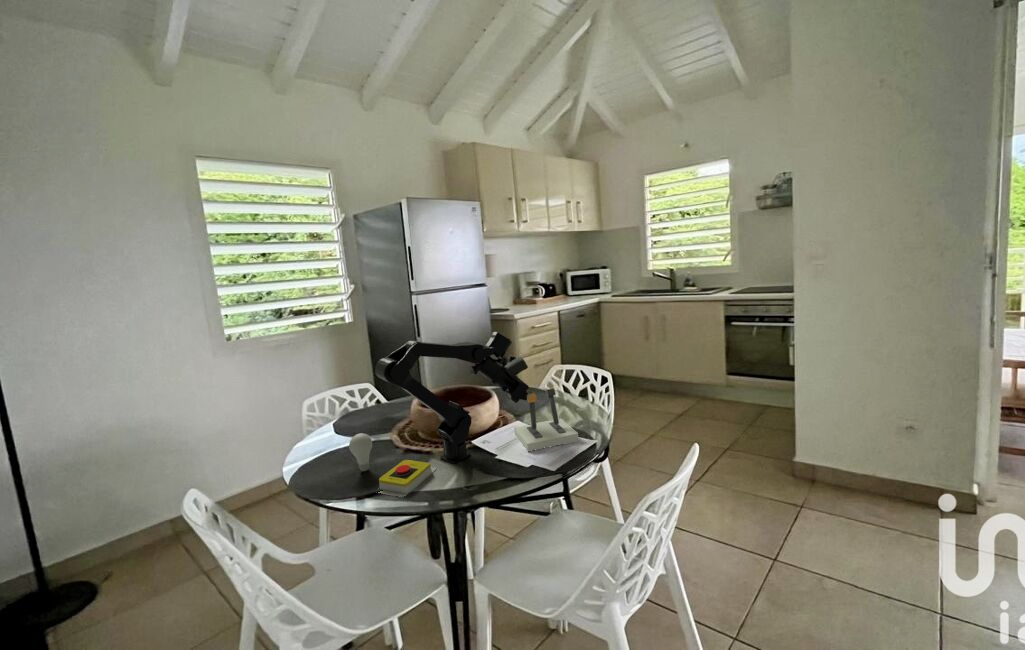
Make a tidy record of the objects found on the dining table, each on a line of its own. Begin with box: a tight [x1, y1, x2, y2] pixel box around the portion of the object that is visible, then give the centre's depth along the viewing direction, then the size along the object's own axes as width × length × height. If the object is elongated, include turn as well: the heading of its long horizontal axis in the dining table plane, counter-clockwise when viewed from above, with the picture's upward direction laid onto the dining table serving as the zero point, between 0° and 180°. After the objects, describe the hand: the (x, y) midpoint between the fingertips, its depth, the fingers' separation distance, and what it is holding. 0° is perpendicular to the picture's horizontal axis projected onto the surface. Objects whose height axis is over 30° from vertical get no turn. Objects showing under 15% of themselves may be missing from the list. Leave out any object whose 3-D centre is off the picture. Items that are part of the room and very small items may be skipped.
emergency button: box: [377, 459, 437, 498], centre depth 115 cm, size 9×4×15 cm
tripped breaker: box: [526, 393, 538, 430], centre depth 131 cm, size 2×2×11 cm
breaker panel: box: [513, 388, 580, 452], centre depth 132 cm, size 16×13×14 cm
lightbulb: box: [348, 432, 373, 472], centre depth 121 cm, size 6×6×11 cm
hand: (530, 399), depth 136 cm, fingers closed
